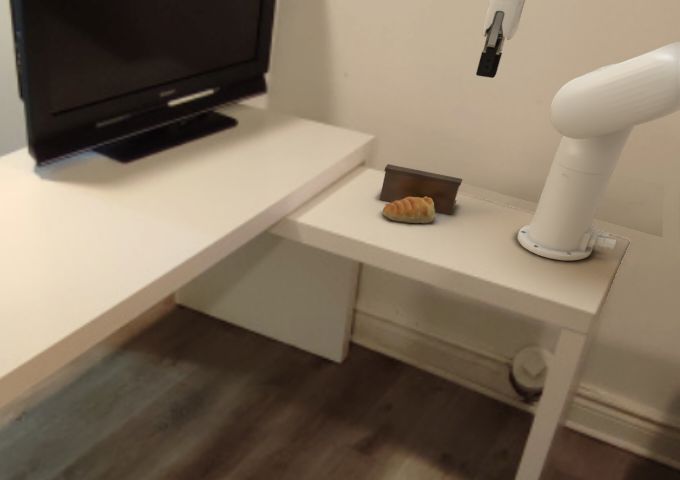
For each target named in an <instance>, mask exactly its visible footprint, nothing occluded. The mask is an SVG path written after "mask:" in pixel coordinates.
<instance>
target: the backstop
mask: <svg viewBox="0 0 680 480" xmlns="http://www.w3.org/2000/svg"><path fill="white" fill-rule="evenodd" d="M462 182H463V178H459V177H454V176H450V175H445V174H441V173H440V174H439V173H435V172H429V171H424V170H420V169H415V168H410V167H409V168H408V167H405V166H399V165H394V164H390V163H387V164H386V166H385V167H384V177H383V182H382V186H381V191H380V196H379V200H381V201H386V202H389V203H391V202H394V201H399V200H402V199H405V198H406V197H419V198H424V197H425V196H426V197H428V198H431V199H432V200H433V202H434V209H435V213H442V214H445V215H452V213H453V211H454V209H455V207H456V204H457V196H458V193H459V189H460V187H461V185H462Z"/></svg>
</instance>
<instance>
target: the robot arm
mask: <svg viewBox="0 0 680 480" xmlns="http://www.w3.org/2000/svg"><path fill="white" fill-rule="evenodd" d="M525 3H526V0H489V2H488V6H487V10H486V14H485V18H484V23H483V27H482V35H483V37H484V38H485V37H486V38H485V42H484V45H483V50H482V51H481V53H480V57H479V61H478V64H477V68H476V73H475V75H476V76H478V77H483V78H490V79H493V78H495V77H496V75H497V73H498V69H499V66H500V63H501V62H500V61H501V58H502V54H503V52H502V50H503V47H504V44H505V41H506V40H507V41H510V40H512V38H513V37H514V35H515V34H516V32H517V31H518V28H519V24H520V21H521V18H522V17H521V16H522V13H523V8H524V6H525ZM678 111H680V40H679V41H675V42H671V43H668V44H666V45H663V46H661V47H658V48H656V49H653V50H650V51H648V52H645V53H643V54H640V55H638V56H635V57H632V58H630V59H627V60H624V61H622V62H618V63H612V64H608V65H604V66H601V67H599V68H597V69H594V70H592V71H589V72H587V73H585V74H583V75H580V76H578V77H577V76H576V77H575V78H573V79H571V80H569V81H568V82H566V83H565V84H564V85H562V86H561V88H559V89H558V90H557V92H556V93H555V95H554V97H553V98H552V101H551V103H550V108H549V119H550V122H551V125H552V126H553V128H554V129H555V131H556V132H558V133H559V134H560V135H562V137H561V139H560V141H559V144H558V146H557V149H556V153H555V155H554V157H553V160H552V162H551V166H550V169H549V171H548V174H547V177H546V180H545V183H544V186H543V189H542V191H541V195H540V197H539V199H538V203H537V205H536V208H535V211H534V215H533V217H532V220H531V223H530V224H526V225H524V226H523V227H521V228H520V229H519V231H518V233H517V241H518V243H519V244H520V245H521V246H522V247H523V248H525V250H527V251H529V252H531V253H532V254H535V255H537V256H540V257H543V258H547V259H552V260H557V261H578V260H584V259H585V258H588V257H589V256H590V255H591V254H592V251H593V249H594V247H595V248H601V249H604V250H608V251H614V249H615V247H616V244H617V239H614V238H610V233H605V232H600V231H596V229H595V228H594V224H595V222H594V221H595V219H596V217H597V214H598V211H599V209H600V206H601V204H602V201H603V198H604V196H605V193H606V191H607V188H608V186H609V183H610V181H611V180H612V176H613V174H614V171H615V169H616V167H617V164H618V162H619V159H620V157H621V156H622V153H623V151H624V148H625V146H626V143H627V142H628V139H629V138H630V136H631V133H632V131H633V129H634V128H635V126H639V125H642V124H645V123H648V122H652V121H656V120H659V119H662V118H664V117H667V116H670V115H672V114H674V113H676V112H678Z"/></svg>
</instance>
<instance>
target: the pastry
mask: <svg viewBox="0 0 680 480" xmlns="http://www.w3.org/2000/svg"><path fill="white" fill-rule="evenodd" d="M382 214H383V216H385V217H386V218H388V219H390V220H392V221H395V222H401V223H408V224H409V223H410V224H419V223H421V224H429V223H432V222H433V221H434V220H435V218H436V211H435V209H434V202H433V200H432V199H431V198H428V197H426V196H425V197H424V198H419V197H406V198H405V199H402V200H399V201H394V202H389V203H386V204H385V206H384V207H383V209H382Z"/></svg>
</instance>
